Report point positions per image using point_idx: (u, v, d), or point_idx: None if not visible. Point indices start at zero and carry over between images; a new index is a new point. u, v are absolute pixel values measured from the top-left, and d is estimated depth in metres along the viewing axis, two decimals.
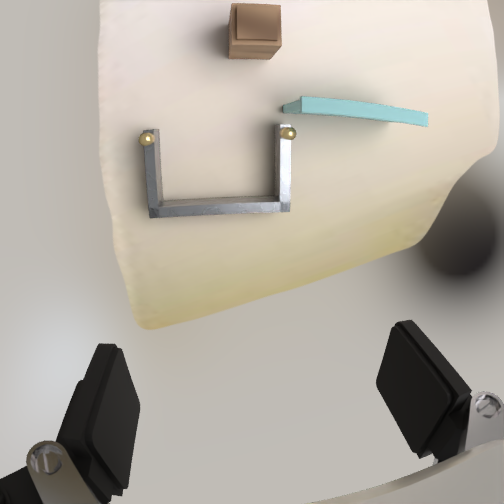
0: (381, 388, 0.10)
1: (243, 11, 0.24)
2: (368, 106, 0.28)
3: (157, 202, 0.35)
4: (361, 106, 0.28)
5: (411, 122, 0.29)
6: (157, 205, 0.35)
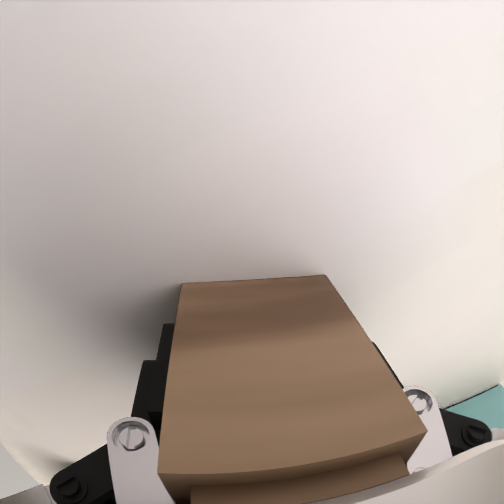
0: None
1: None
2: None
3: None
4: None
5: None
6: None
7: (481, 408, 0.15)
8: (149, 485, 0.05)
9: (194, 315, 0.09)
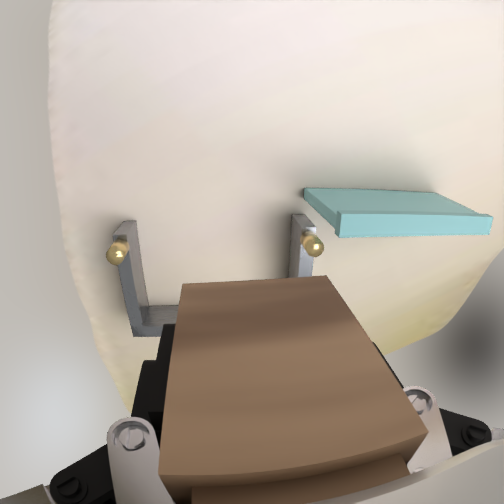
0: None
1: None
2: (428, 220, 0.20)
3: (141, 321, 0.27)
4: (419, 221, 0.20)
5: (473, 233, 0.21)
6: (141, 324, 0.27)
7: (419, 194, 0.27)
8: (149, 485, 0.05)
9: (195, 315, 0.09)
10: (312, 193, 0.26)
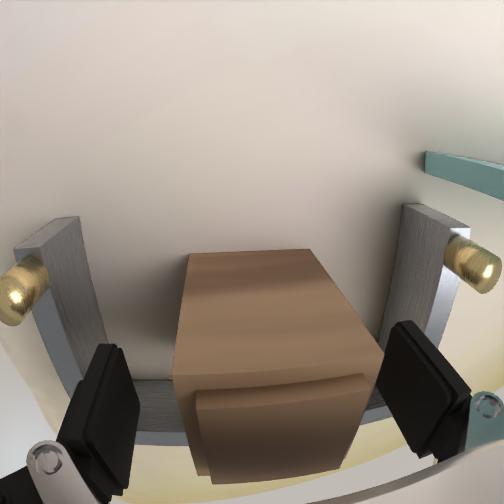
0: (381, 388, 0.10)
1: (227, 428, 0.06)
2: None
3: None
4: None
5: None
6: None
7: None
8: (77, 503, 0.04)
9: (201, 274, 0.11)
10: (456, 158, 0.10)
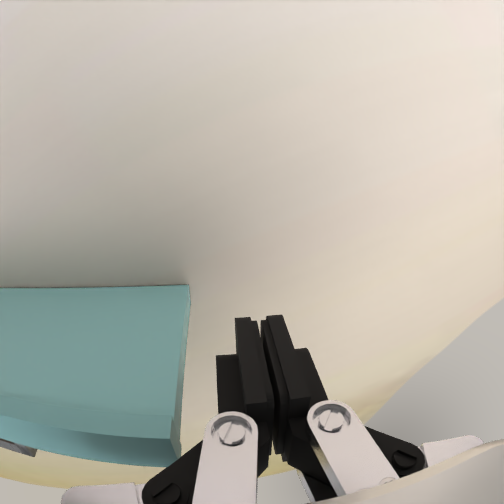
0: None
1: None
2: None
3: None
4: None
5: (100, 459, 0.07)
6: None
7: (114, 299, 0.13)
8: (235, 484, 0.05)
9: None
10: None
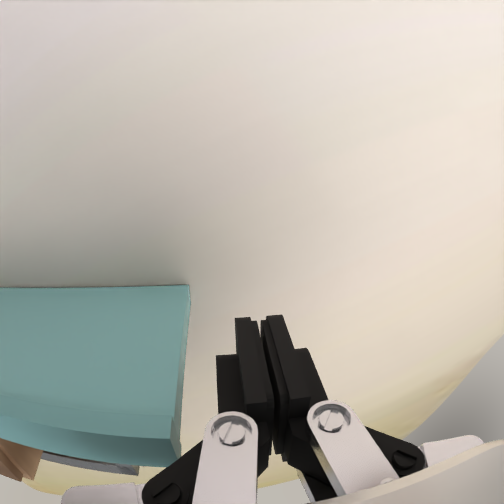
0: None
1: None
2: None
3: None
4: None
5: (100, 459, 0.07)
6: None
7: (114, 299, 0.13)
8: (234, 484, 0.05)
9: None
10: None
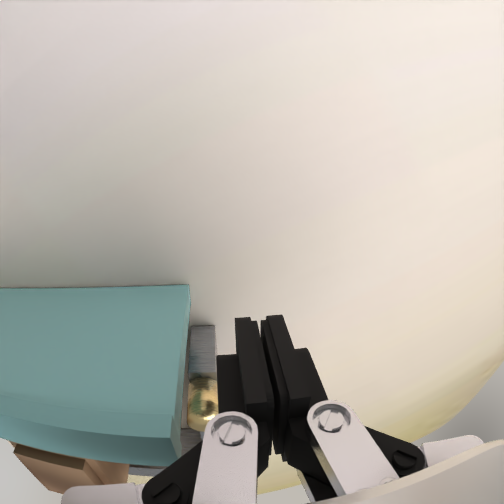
0: None
1: (30, 463, 0.09)
2: None
3: None
4: None
5: (101, 458, 0.07)
6: None
7: (115, 299, 0.13)
8: (234, 484, 0.05)
9: None
10: None
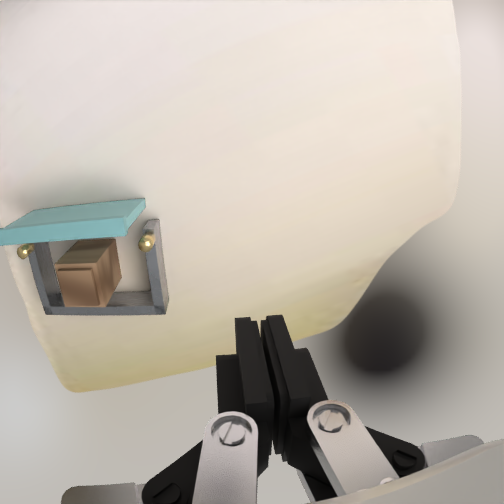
0: None
1: (63, 278, 0.28)
2: (46, 229, 0.24)
3: (48, 302, 0.33)
4: (40, 230, 0.24)
5: (100, 236, 0.25)
6: (49, 304, 0.33)
7: (113, 203, 0.32)
8: (234, 484, 0.05)
9: (76, 246, 0.32)
10: (26, 214, 0.30)
